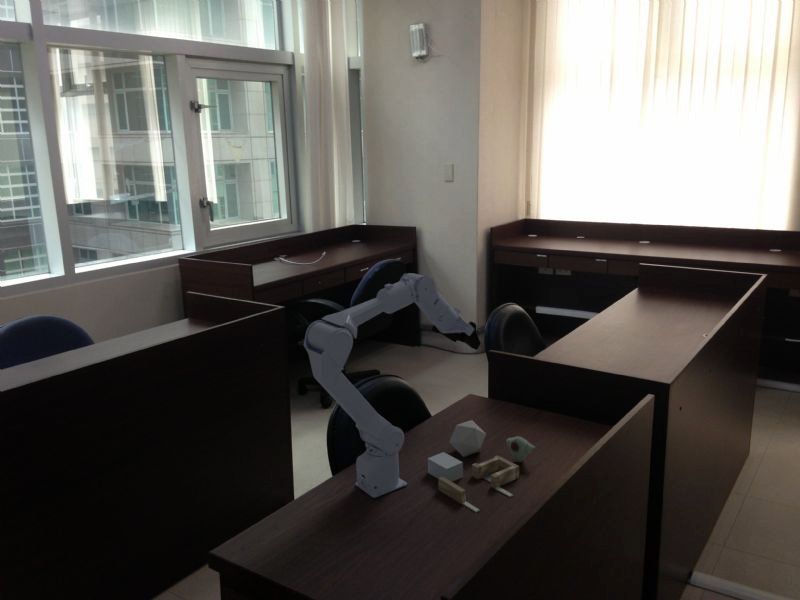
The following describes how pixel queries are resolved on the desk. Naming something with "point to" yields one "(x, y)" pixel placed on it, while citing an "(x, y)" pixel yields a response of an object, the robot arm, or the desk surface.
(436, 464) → the grey block
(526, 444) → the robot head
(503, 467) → the channel
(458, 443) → the die
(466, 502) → the rails
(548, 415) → the desk surface
